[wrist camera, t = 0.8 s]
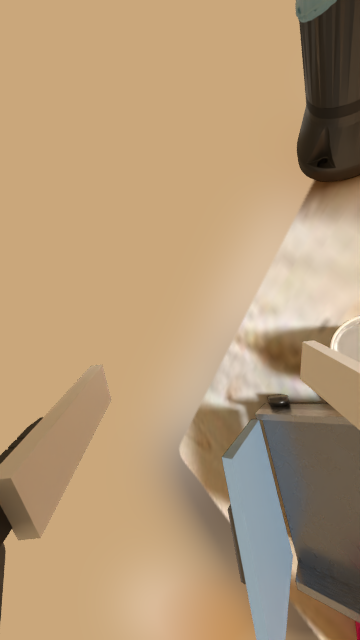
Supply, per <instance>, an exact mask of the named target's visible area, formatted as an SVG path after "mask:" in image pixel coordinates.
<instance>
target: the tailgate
mask: <svg viewBox="0 0 360 640" xmlns="http://www.w3.org/2000/svg"><path fill="white" fill-rule="evenodd" d="M222 461H223V466H224V472H225V477H226V482H227V487H228V493H229V498H230V503H231V504H230V506H229V508H228V514H229V519H230V524H231V530H232V534H233V540H234V546H235V551H236V556H237V561H238V567H239V572H240V578H241V582H243V583H244V584H246V587H247V592H248V597H249V602H250V608H251V613H252V618H253V623H254V629H255V634H256V639H257V640H285V638H286V626H287V615H288V604H289V592H290V581H291V569H292V558H293V555H292V551H291V547H290V543H289V539H288V535H287V530H286V526H285V522H284V518H283V514H282V510H281V506H280V502H279V498H278V494H277V490H276V486H275V482H274V478H273V474H272V470H271V466H270V462H269V458H268V453H267V449H266V445H265V441H264V437H263V433H262V429H261V425H260V421H259V420H256V419H251V421H250V422H249V423H248V424H247V426H246V427H245V428H244V429H243V431H242V432H241V433H240V435H239V436H238V437H237V438H236V440H235V441H234V442H233V444H232V445H231V446H230V447H229V449H228V450H227V451H226V453H225V454H224V455H223V456H222Z"/></svg>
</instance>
